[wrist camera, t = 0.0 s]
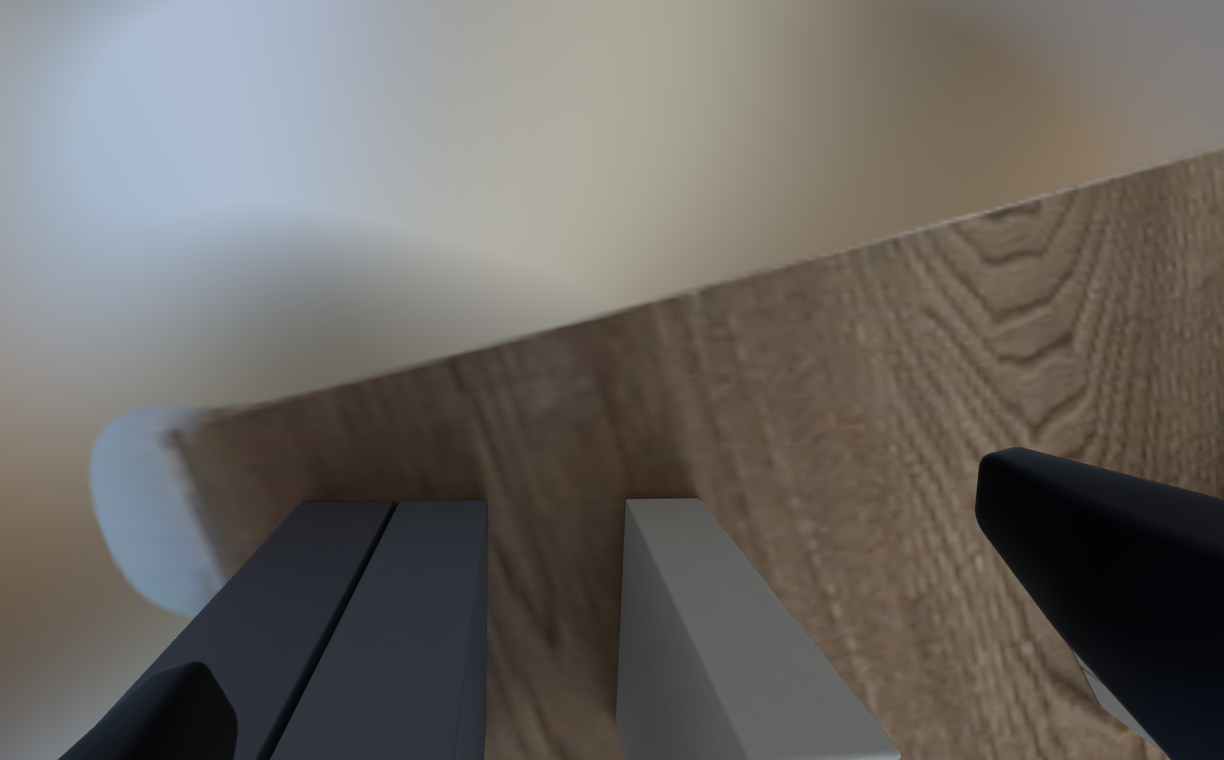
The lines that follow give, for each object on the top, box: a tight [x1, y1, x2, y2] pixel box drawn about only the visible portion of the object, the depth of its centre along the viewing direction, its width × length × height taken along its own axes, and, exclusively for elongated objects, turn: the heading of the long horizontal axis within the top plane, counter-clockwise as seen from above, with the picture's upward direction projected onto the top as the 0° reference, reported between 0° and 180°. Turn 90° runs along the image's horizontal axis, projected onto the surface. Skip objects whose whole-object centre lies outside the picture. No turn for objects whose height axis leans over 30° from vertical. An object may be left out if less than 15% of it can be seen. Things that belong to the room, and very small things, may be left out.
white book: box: [616, 498, 901, 760], centre depth 18 cm, size 9×3×13 cm, turn 178°
